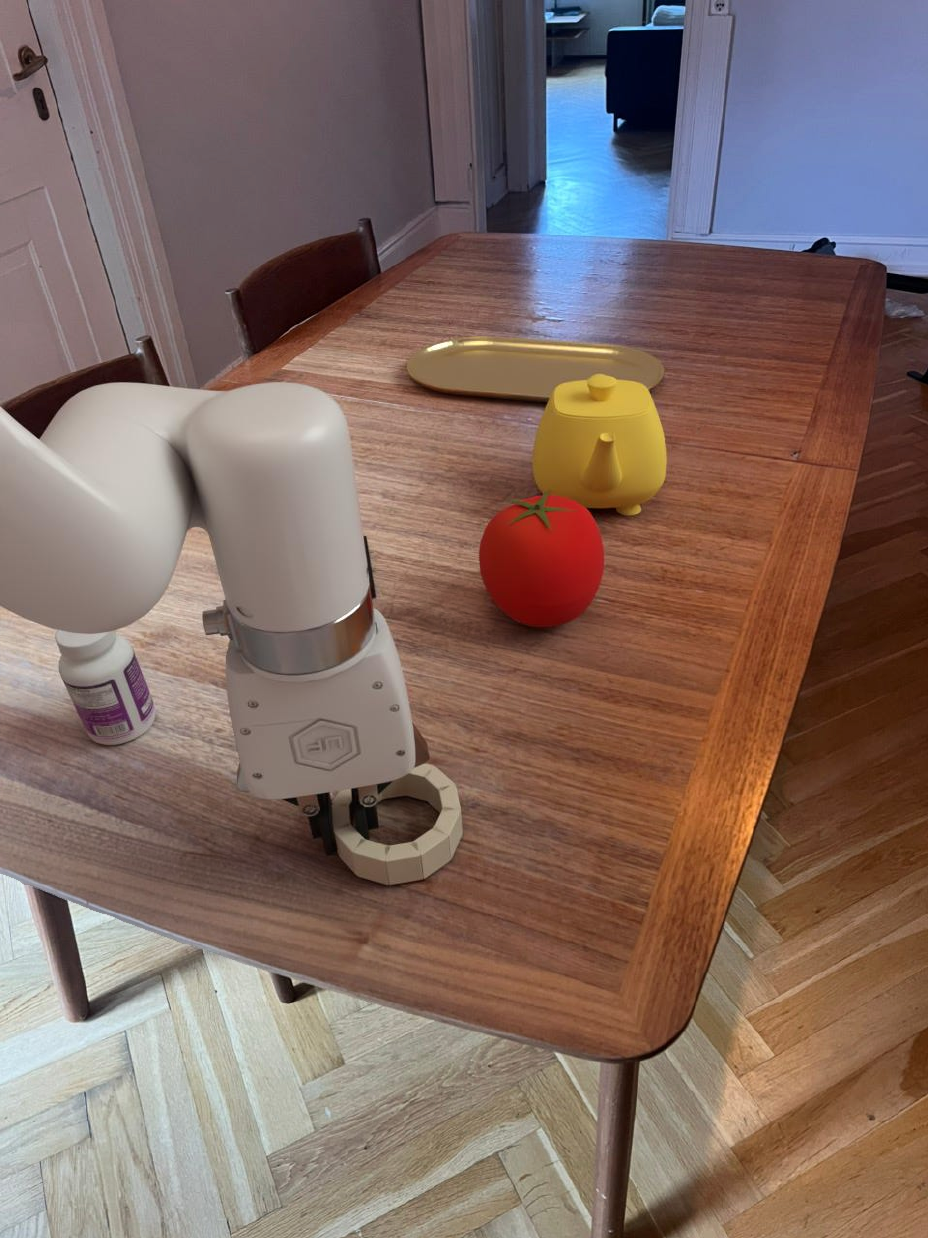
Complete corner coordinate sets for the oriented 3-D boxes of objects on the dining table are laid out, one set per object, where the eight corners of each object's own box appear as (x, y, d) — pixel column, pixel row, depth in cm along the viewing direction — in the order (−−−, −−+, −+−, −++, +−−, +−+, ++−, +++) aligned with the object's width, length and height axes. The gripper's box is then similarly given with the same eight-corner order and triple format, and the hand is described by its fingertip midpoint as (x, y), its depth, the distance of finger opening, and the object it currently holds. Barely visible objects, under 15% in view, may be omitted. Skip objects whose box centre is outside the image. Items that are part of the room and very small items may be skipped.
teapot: (656, 455, 100) (665, 345, 92) (673, 553, 84) (686, 431, 77) (534, 456, 101) (533, 347, 94) (529, 553, 86) (527, 432, 78)
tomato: (628, 607, 78) (636, 500, 72) (547, 664, 73) (547, 555, 66) (540, 562, 84) (540, 460, 78) (460, 611, 79) (452, 507, 72)
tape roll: (340, 894, 56) (335, 870, 54) (333, 794, 62) (328, 770, 61) (471, 871, 57) (469, 847, 55) (450, 775, 63) (448, 751, 62)
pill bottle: (125, 692, 73) (88, 598, 67) (171, 713, 70) (137, 617, 65) (72, 734, 69) (28, 638, 63) (119, 757, 67) (78, 660, 61)
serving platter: (650, 417, 108) (651, 405, 107) (386, 393, 118) (385, 382, 117) (673, 359, 122) (674, 348, 121) (435, 342, 132) (434, 332, 131)
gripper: (148, 684, 44) (226, 903, 55) (458, 639, 46) (473, 861, 57) (162, 596, 50) (230, 811, 61) (437, 559, 52) (454, 775, 63)
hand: (347, 834), depth 59 cm, fingers closed on tape roll, 1 cm apart
